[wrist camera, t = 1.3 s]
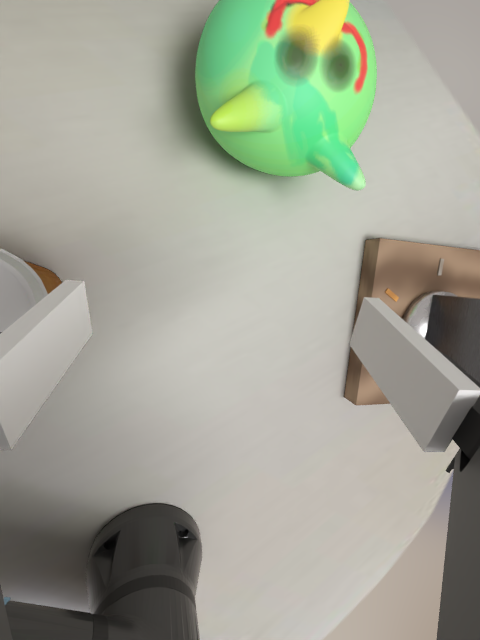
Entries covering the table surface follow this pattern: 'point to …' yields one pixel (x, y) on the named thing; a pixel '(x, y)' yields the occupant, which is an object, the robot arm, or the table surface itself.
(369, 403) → the dial panel
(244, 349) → the table surface
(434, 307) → the dial
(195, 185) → the table surface
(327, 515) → the table surface
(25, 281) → the disposable coffee cup
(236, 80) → the toy bird
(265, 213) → the table surface
